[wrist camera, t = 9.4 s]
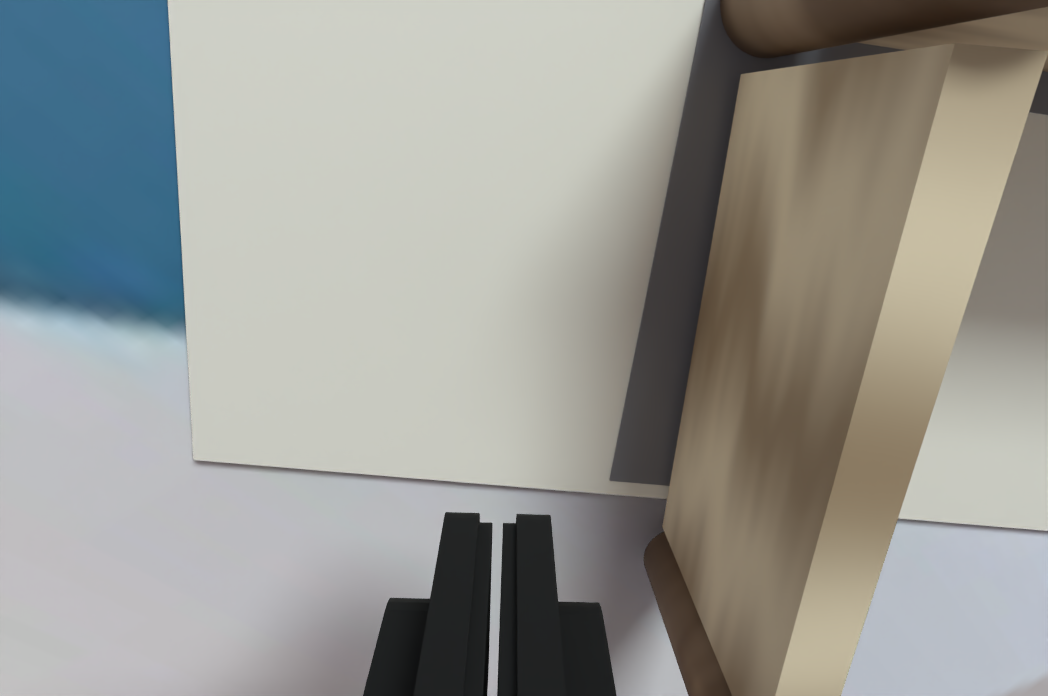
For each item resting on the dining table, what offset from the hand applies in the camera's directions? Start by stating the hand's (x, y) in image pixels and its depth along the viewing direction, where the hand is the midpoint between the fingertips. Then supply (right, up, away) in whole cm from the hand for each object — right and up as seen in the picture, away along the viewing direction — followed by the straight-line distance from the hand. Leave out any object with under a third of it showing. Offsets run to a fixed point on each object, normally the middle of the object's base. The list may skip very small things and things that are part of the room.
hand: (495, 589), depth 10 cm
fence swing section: (+5, +3, +6) cm, 9 cm away
